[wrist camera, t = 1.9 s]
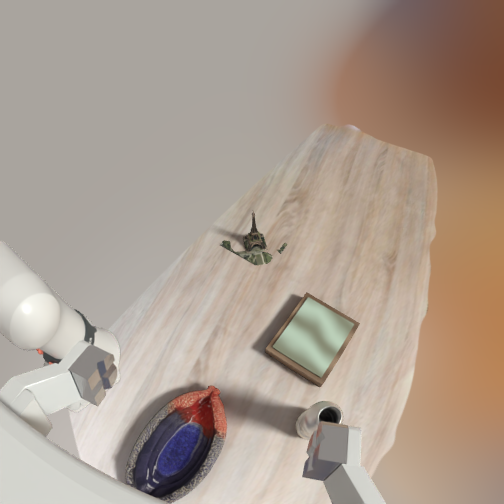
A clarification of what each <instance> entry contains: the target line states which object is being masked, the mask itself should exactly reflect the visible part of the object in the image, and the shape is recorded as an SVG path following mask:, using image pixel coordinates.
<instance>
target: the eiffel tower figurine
mask: <svg viewBox="0 0 504 504" xmlns="http://www.w3.org/2000/svg"><path fill="white" fill-rule="evenodd" d="M252 216H253V218H252V229H251V232H250V233H248V235H247V236H245V237H243V240H244V244H245V248H246V251H241V252H234V251H233V250H232V248H231V246H230V241H223V242H222V243H221V244H220V245H221V246H223V247H225V248H226V249H228V250H230V251H231V252H233V253H235V254H237V255H239V256H240V257H242V258H244V259H246V260H247V261H249V262H251V263H253V264H254V265H262V264H267V263H269V262H270V261H271V259H272V255H271V254H269V253H266V252H262V251H264V250H267V246H266V243H265V239H264V236H263V234H261V233H259V232H258V231H257V228H256V224H255V213H254V212H253V213H252ZM286 246H287V244H286V243H284V244H283V246H282V247H281V248H280V250H277V251H278V252H279V253H280V254H281V253H282V251H283V250H284V248H285V247H286Z"/></svg>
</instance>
